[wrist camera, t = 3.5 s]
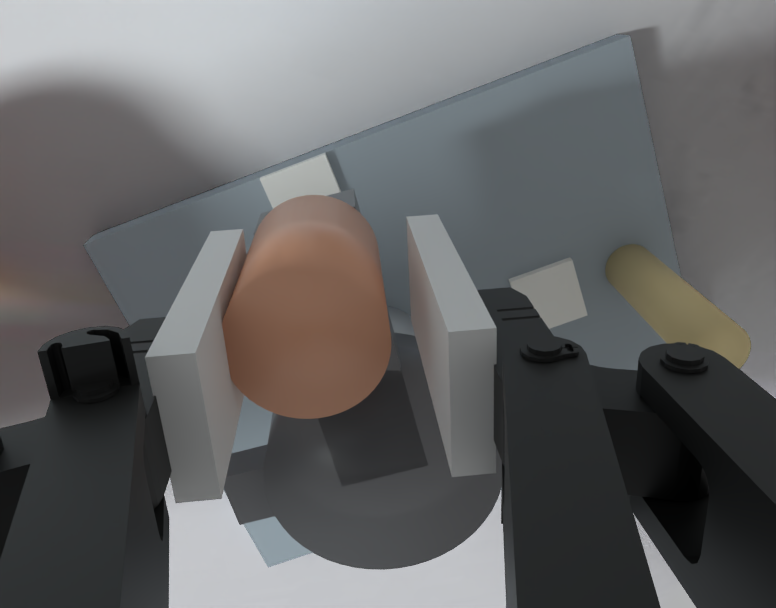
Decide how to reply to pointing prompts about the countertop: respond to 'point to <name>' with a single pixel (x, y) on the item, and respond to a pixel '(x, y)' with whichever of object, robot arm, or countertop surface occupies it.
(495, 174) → the lock base
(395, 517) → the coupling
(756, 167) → the countertop surface
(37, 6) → the countertop surface
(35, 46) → the countertop surface
